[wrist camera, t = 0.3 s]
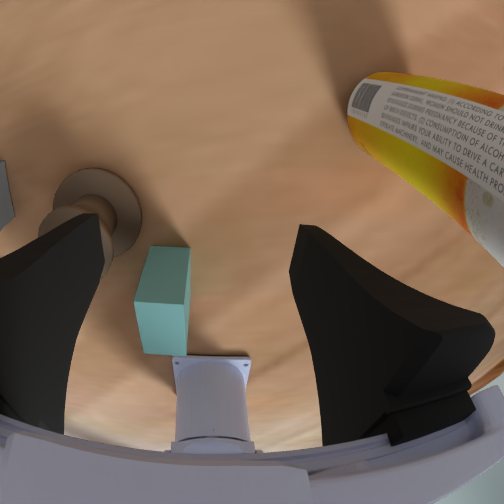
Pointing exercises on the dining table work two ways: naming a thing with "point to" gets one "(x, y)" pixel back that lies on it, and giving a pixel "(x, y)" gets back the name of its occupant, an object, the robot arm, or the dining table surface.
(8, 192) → the grey bricks
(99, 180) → the bobbin
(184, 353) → the block
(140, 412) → the dining table surface
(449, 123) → the beer can
